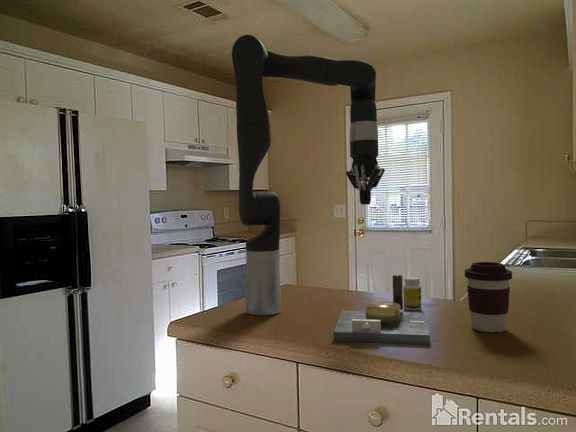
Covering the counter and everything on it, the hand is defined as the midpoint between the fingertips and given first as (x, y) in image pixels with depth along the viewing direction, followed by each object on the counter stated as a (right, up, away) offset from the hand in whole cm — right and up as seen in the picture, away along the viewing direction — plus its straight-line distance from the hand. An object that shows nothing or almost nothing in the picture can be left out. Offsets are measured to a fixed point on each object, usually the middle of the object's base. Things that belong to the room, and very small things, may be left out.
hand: (365, 204), depth 124 cm
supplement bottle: (+13, -29, +2) cm, 32 cm away
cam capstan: (+3, -27, -14) cm, 30 cm away
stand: (+1, -30, -17) cm, 34 cm away
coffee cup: (+25, -29, -19) cm, 43 cm away
